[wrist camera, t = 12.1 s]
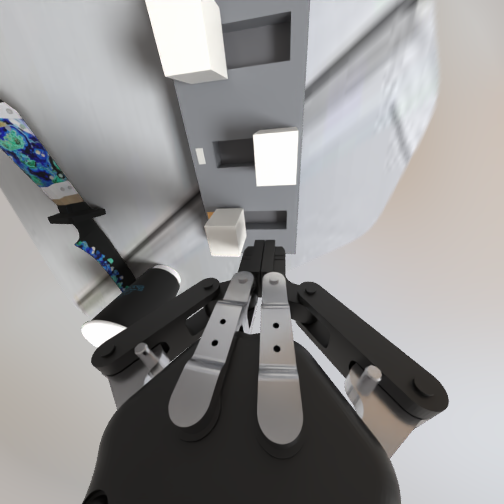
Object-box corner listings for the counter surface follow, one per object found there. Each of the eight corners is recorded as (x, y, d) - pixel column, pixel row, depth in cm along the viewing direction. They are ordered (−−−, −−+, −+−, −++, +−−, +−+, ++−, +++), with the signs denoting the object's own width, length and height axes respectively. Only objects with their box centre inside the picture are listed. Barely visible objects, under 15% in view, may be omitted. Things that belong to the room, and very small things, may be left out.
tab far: (221, 202, 19) (204, 226, 15) (246, 201, 19) (235, 225, 15) (225, 228, 21) (211, 256, 17) (249, 228, 21) (239, 256, 17)
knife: (-1, 80, 16) (-74, 81, 13) (29, 80, 16) (-39, 81, 13) (141, 292, 37) (127, 313, 34) (156, 294, 37) (142, 315, 33)
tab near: (188, 26, 13) (141, -15, 8) (226, 19, 12) (196, -28, 8) (199, 86, 14) (164, 76, 10) (233, 81, 14) (211, 69, 10)
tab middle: (261, 128, 15) (252, 134, 11) (295, 125, 15) (298, 130, 11) (263, 168, 17) (256, 186, 13) (293, 166, 17) (296, 184, 12)
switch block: (169, -16, 13) (142, -47, 10) (309, -50, 11) (315, -94, 9) (222, 238, 24) (215, 252, 22) (294, 239, 23) (295, 254, 20)
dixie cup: (181, 300, 33) (143, 367, 24) (136, 278, 32) (79, 343, 23) (197, 273, 29) (159, 345, 20) (147, 247, 27) (81, 312, 18)
